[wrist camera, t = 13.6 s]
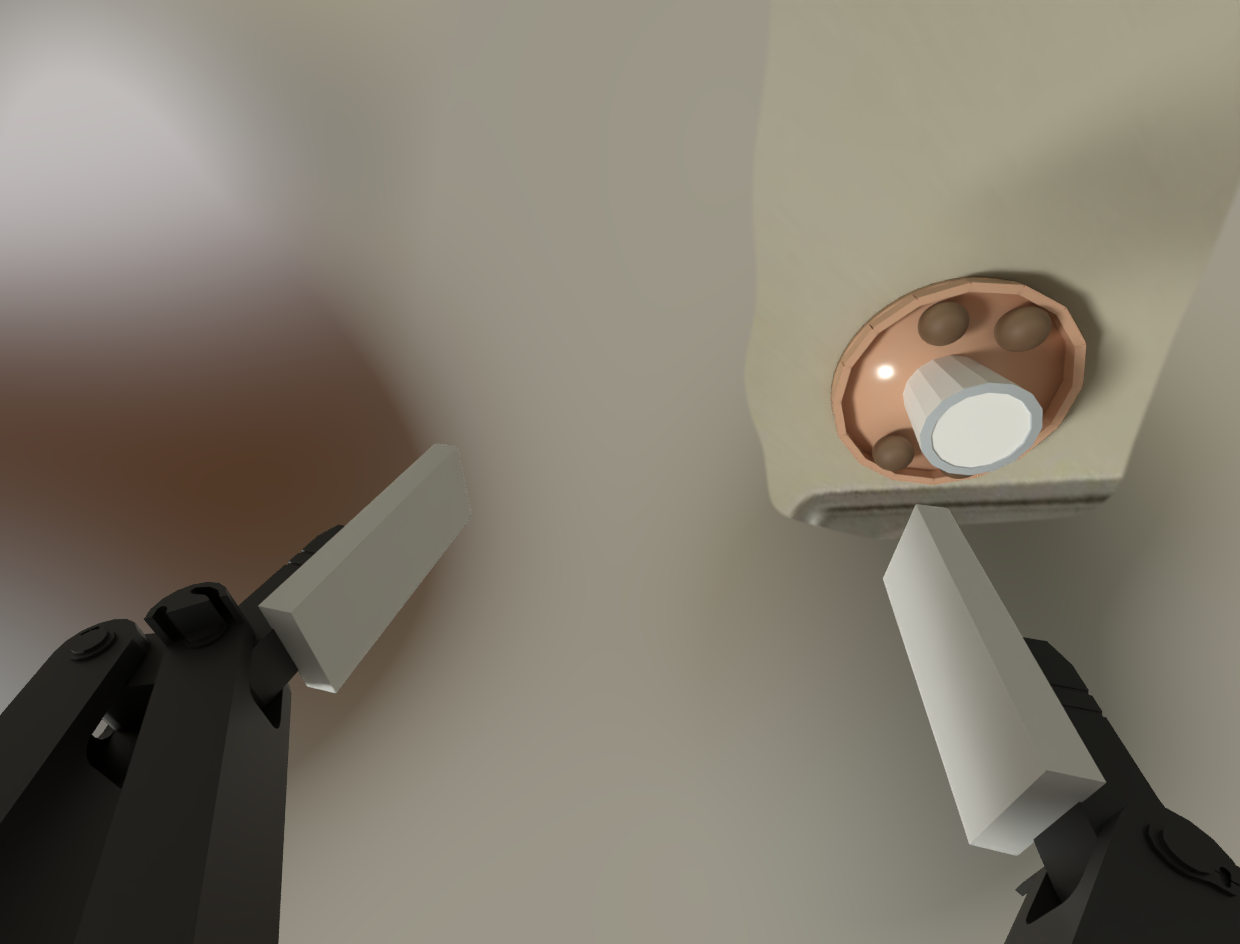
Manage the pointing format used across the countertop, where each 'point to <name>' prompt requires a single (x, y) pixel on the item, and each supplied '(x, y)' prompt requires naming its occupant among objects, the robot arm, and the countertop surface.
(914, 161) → the countertop surface
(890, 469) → the bead
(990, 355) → the tray
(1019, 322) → the bead
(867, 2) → the countertop surface
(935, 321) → the bead
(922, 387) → the white cup
